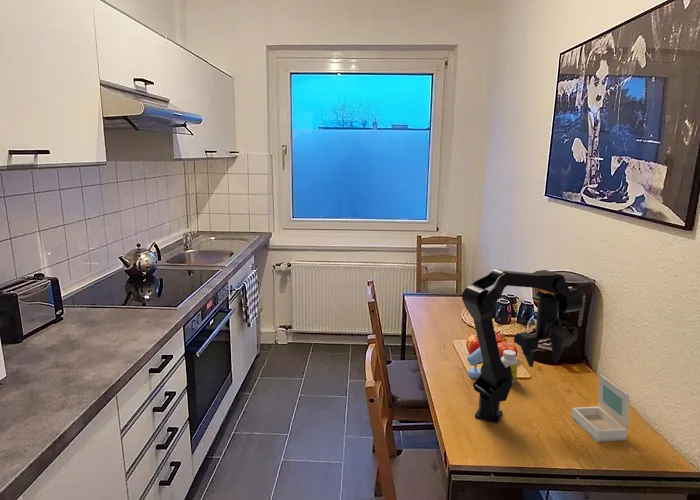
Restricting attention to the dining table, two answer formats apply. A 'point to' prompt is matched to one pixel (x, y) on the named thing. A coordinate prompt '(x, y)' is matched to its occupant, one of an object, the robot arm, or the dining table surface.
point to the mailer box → (599, 424)
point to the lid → (614, 400)
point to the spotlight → (475, 363)
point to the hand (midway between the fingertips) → (543, 364)
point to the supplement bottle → (510, 362)
